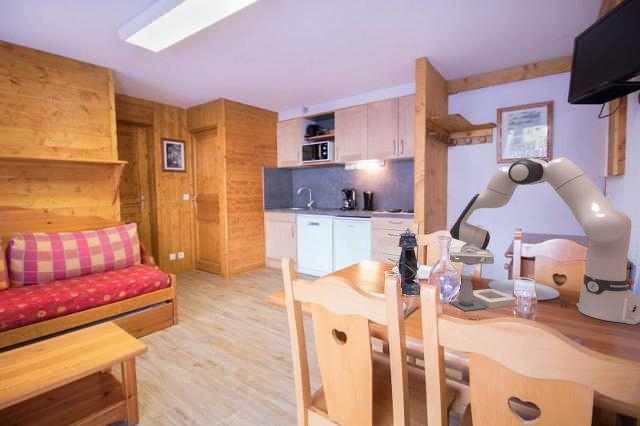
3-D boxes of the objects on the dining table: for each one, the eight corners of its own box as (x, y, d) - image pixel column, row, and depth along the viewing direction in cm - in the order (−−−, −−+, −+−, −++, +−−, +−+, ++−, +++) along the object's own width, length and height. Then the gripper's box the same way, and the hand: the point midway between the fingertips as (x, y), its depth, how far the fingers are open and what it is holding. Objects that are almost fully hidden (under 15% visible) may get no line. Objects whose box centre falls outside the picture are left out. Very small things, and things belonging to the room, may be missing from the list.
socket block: (491, 293, 140) (491, 288, 140) (518, 304, 127) (518, 298, 127) (465, 297, 137) (465, 291, 137) (489, 308, 123) (489, 302, 123)
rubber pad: (468, 300, 133) (468, 299, 133) (486, 308, 123) (486, 307, 123) (448, 303, 130) (448, 301, 130) (464, 311, 121) (465, 310, 121)
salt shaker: (475, 307, 123) (476, 275, 122) (460, 306, 125) (460, 274, 124) (472, 302, 129) (472, 271, 128) (457, 301, 130) (457, 271, 130)
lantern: (416, 299, 136) (415, 231, 134) (389, 294, 143) (389, 229, 141) (426, 289, 149) (426, 227, 146) (401, 285, 156) (401, 226, 154)
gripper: (446, 248, 154) (443, 253, 142) (493, 249, 145) (494, 255, 133) (446, 260, 155) (443, 266, 142) (493, 263, 145) (494, 269, 133)
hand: (468, 261), depth 138 cm, fingers open, 8 cm apart
